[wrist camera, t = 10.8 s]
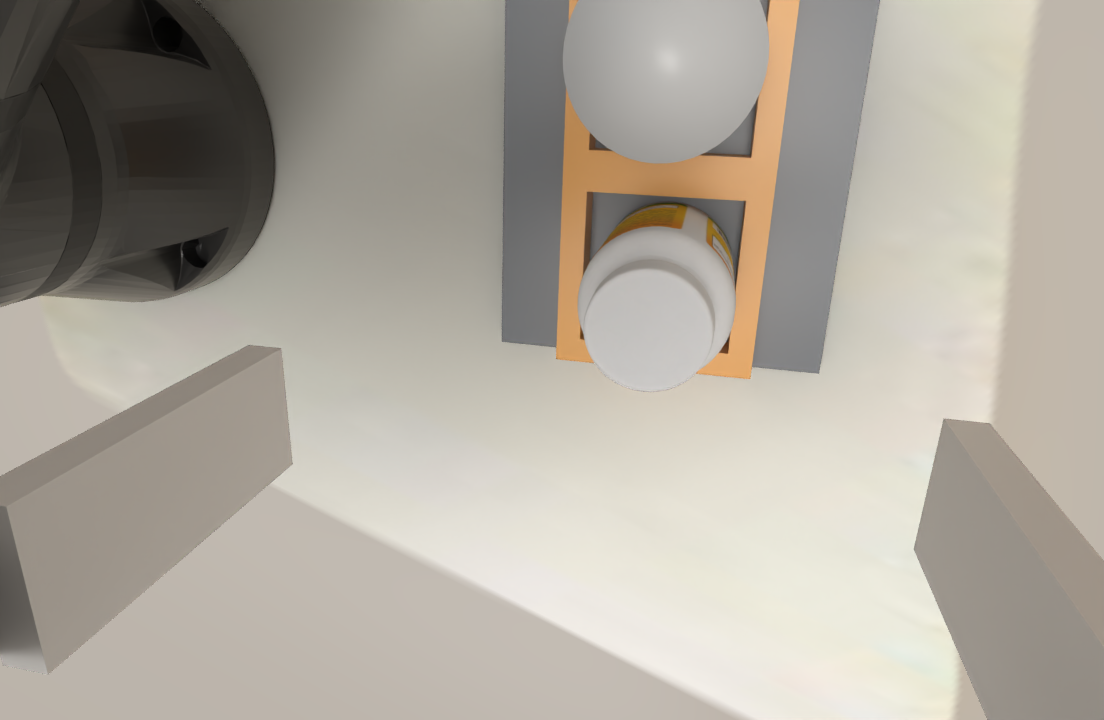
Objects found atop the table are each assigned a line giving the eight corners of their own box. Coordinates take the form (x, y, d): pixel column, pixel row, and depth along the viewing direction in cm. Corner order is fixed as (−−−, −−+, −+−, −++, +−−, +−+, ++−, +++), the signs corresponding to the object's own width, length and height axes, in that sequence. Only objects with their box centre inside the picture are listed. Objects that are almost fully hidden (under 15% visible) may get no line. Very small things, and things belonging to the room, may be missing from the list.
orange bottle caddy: (508, 334, 35) (442, 405, 27) (514, -44, 30) (434, -99, 22) (815, 364, 33) (847, 453, 24) (881, -44, 27) (949, -108, 19)
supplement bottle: (582, 288, 33) (531, 362, 24) (641, 176, 31) (609, 211, 22) (691, 346, 33) (680, 444, 24) (758, 238, 30) (773, 300, 21)
